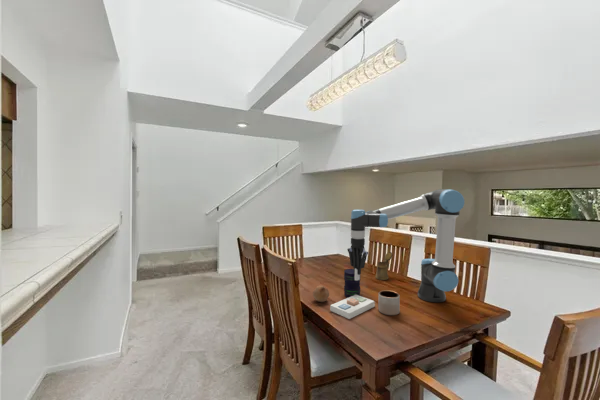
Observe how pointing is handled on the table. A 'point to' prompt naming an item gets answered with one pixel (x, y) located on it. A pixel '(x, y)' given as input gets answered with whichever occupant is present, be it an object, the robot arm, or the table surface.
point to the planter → (389, 302)
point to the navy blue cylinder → (351, 283)
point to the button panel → (352, 307)
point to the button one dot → (344, 306)
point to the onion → (321, 293)
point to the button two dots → (361, 299)
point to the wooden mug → (383, 268)
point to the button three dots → (352, 302)
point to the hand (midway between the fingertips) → (357, 279)
